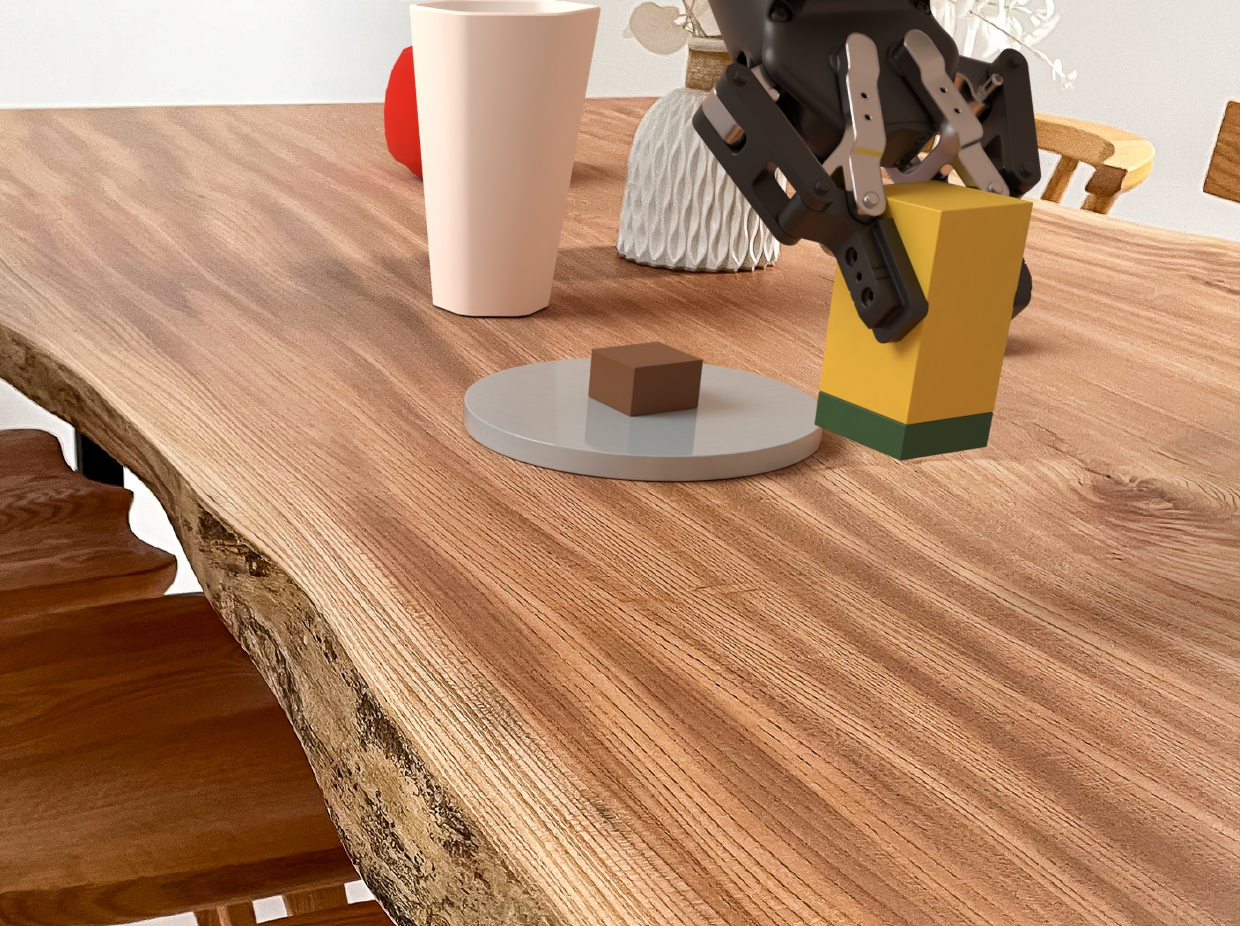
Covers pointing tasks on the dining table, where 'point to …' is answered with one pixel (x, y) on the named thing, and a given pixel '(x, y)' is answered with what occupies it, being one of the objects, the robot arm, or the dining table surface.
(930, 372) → the sponge
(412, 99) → the tomato
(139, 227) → the dining table surface
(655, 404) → the brown block
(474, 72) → the cup
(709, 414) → the plate
